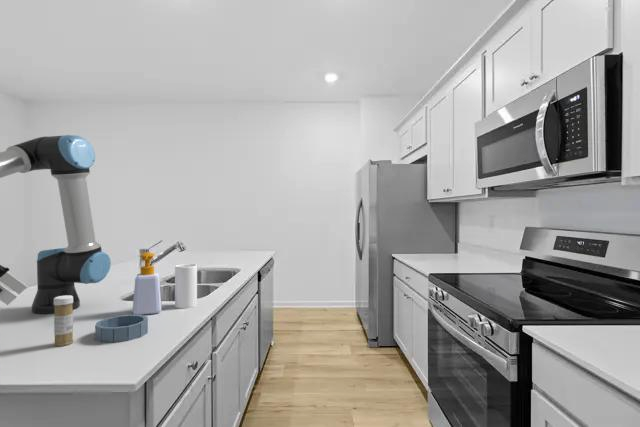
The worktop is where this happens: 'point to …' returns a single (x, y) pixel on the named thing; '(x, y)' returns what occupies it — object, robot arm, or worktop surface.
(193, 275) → the cup
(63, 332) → the sprinkles bottle
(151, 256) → the soap bottle
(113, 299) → the worktop surface
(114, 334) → the bowl
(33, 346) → the worktop surface
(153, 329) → the worktop surface
